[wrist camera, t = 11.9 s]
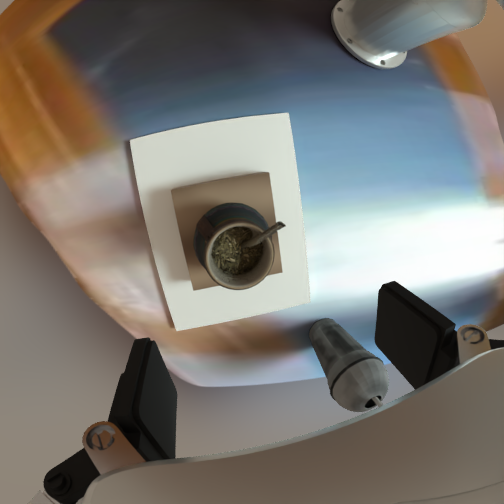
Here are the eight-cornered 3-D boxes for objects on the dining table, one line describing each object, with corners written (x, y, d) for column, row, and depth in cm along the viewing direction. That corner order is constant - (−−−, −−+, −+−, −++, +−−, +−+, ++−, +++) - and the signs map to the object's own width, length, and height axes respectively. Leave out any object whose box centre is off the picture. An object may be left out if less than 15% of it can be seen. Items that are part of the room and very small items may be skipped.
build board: (131, 140, 27) (129, 140, 26) (286, 114, 29) (288, 112, 29) (176, 327, 35) (176, 330, 34) (308, 299, 37) (310, 302, 36)
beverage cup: (298, 354, 40) (353, 459, 21) (301, 313, 37) (371, 421, 19) (341, 345, 41) (408, 436, 22) (347, 306, 38) (431, 394, 20)
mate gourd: (181, 247, 28) (171, 284, 19) (219, 182, 27) (227, 188, 17) (239, 279, 30) (257, 327, 21) (278, 219, 29) (314, 243, 20)
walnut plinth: (173, 188, 29) (170, 190, 26) (263, 171, 30) (269, 172, 27) (194, 280, 32) (193, 290, 30) (275, 263, 34) (282, 272, 31)
